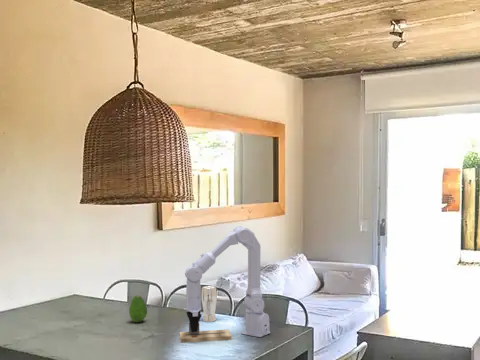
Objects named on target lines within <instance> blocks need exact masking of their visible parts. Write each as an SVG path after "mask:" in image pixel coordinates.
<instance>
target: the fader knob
mask: <svg viewBox="0 0 480 360" xmlns="http://www.w3.org/2000/svg"><path fill="white" fill-rule="evenodd" d="M199 331H200V323H199V324H198V329H197V332H192V331H191V326H190V322H189V323H188V332H189V335H192V334H199Z"/></svg>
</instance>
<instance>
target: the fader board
mask: <svg viewBox="0 0 480 360" xmlns="http://www.w3.org/2000/svg"><path fill="white" fill-rule="evenodd" d="M178 335H179V339H180V343H181V344H182V343H194V342H195V343H198V342H212V341H213V342H214V341H215V340H217V341H228V340H229V341H232V340H233V336H232V333H231V332H230V331H229V329H214V330H211V329H210V330H199V334H192V335H189V331H180V332H179V334H178Z"/></svg>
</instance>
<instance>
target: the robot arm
mask: <svg viewBox="0 0 480 360" xmlns="http://www.w3.org/2000/svg"><path fill="white" fill-rule="evenodd" d="M239 244H242V246H244V247H245V248H246V249H247V289H246V295H245V297H244V298H243V299H244V300H243V304H244V306H245V307H246V308H245V331H242V332H241V335H246V336H252V337H257V338H262V337H264V336H267V335H268V334H269V335H270V334H271V331H270V316H269V314H268V313H265V312H264V309H265V301H264V299H263V292H262V289H261V244H260V242H259V240H258V239H257V237H256V235H255V233H254V232H253V231H252V230H251V229H250V228H247V227H243V226H237V227H235V228H234V229H232V230H231V231H229V232H228V233H227V234H226V236H225V237H224V238H222V240H221V241H220V242H218V244H217V245H216V246H214V248H213V249H212V250H210V252H207V251H206V252H204V253H201V254H200V257H198V259H197V260H196V261H195V262H192V263H191V266H188V267H187V268H186V270H185V272H184V276H185V277H186V287H185V288H186V290H185V291H186V307H183V311H186V312H185V313H186V316H187V318H188V321H189V323H190V326H191V331H192V332H197V329H198V324H199V325H200V319H201V318H202V314H201V310H202V297H201V295H202V285H201V280H202V277H203V274H205V273H206V272H208V271H209V269H211V267H213V265H215V264H216V259H217V258H218V257H219V256H220V255H221V254H222V253H224V252H225V251H226V250H227V249H229V248H230V246H235V245H239Z"/></svg>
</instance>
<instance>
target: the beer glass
mask: <svg viewBox="0 0 480 360" xmlns="http://www.w3.org/2000/svg"><path fill="white" fill-rule="evenodd" d="M217 299H218V293H217V286H215V285H206V286H201V306H202V311H203V314H202V315H203V316H202V321H203V322H205V323H211V322H216V320H217V318H216V307H217V302H218V301H217Z"/></svg>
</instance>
